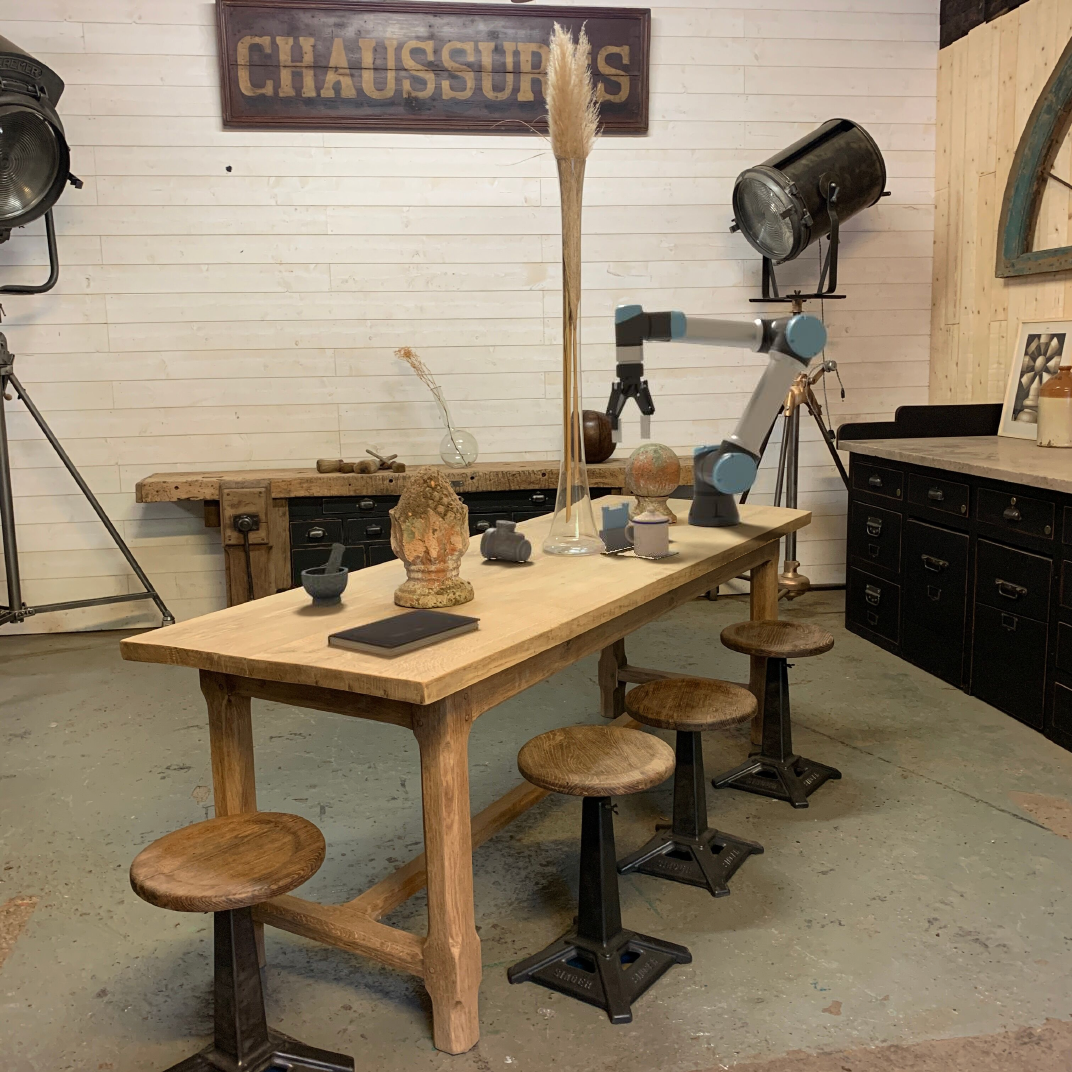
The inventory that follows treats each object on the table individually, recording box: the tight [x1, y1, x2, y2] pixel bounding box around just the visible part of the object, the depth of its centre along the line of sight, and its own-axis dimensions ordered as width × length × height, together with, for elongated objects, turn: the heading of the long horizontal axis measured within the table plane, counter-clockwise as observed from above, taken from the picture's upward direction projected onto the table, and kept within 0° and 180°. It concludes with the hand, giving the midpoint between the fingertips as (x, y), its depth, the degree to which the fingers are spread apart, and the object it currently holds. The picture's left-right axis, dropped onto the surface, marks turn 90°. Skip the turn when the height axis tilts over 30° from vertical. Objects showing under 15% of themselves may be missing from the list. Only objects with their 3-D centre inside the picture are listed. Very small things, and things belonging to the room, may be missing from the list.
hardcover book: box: [327, 608, 481, 657], centre depth 188 cm, size 16×23×2 cm
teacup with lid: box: [625, 506, 670, 557], centre depth 259 cm, size 12×9×12 cm
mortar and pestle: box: [300, 543, 349, 608], centre depth 216 cm, size 11×9×12 cm
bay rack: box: [598, 522, 680, 560], centre depth 267 cm, size 27×17×6 cm, turn 138°
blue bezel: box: [601, 501, 630, 531], centre depth 265 cm, size 10×1×6 cm, turn 138°
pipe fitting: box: [479, 519, 533, 562], centre depth 257 cm, size 12×8×10 cm
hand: (631, 440), depth 286 cm, fingers open, 13 cm apart
